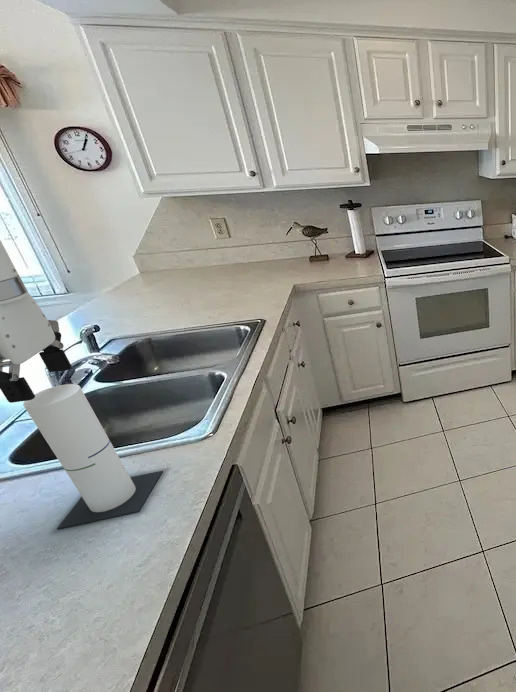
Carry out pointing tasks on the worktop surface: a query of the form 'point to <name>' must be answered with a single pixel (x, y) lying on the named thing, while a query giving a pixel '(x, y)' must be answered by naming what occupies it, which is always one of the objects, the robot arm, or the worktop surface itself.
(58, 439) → the cylindrical container
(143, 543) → the worktop surface
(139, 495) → the mat
